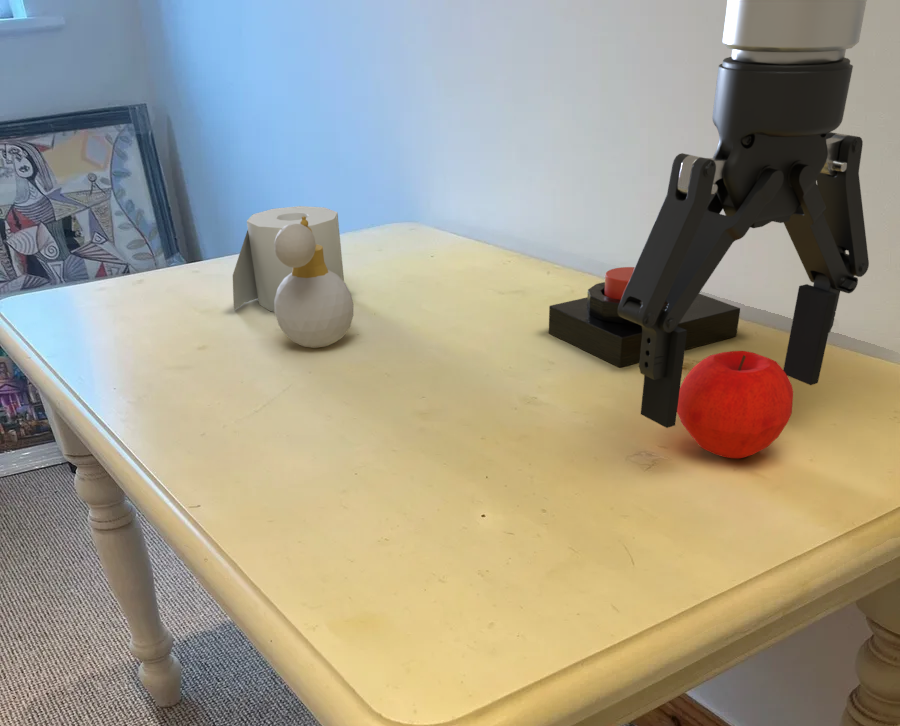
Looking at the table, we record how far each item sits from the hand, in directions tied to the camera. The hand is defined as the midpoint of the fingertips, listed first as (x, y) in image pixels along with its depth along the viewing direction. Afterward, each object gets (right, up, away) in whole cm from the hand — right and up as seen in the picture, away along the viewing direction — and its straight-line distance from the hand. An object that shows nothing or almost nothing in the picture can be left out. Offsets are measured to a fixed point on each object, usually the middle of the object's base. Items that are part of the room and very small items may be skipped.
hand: (731, 398), depth 66 cm
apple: (0, -3, +3) cm, 4 cm away
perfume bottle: (-33, +10, +24) cm, 41 cm away
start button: (-4, +14, +20) cm, 25 cm away
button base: (-2, +11, +23) cm, 26 cm away
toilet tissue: (-37, +18, +35) cm, 55 cm away
